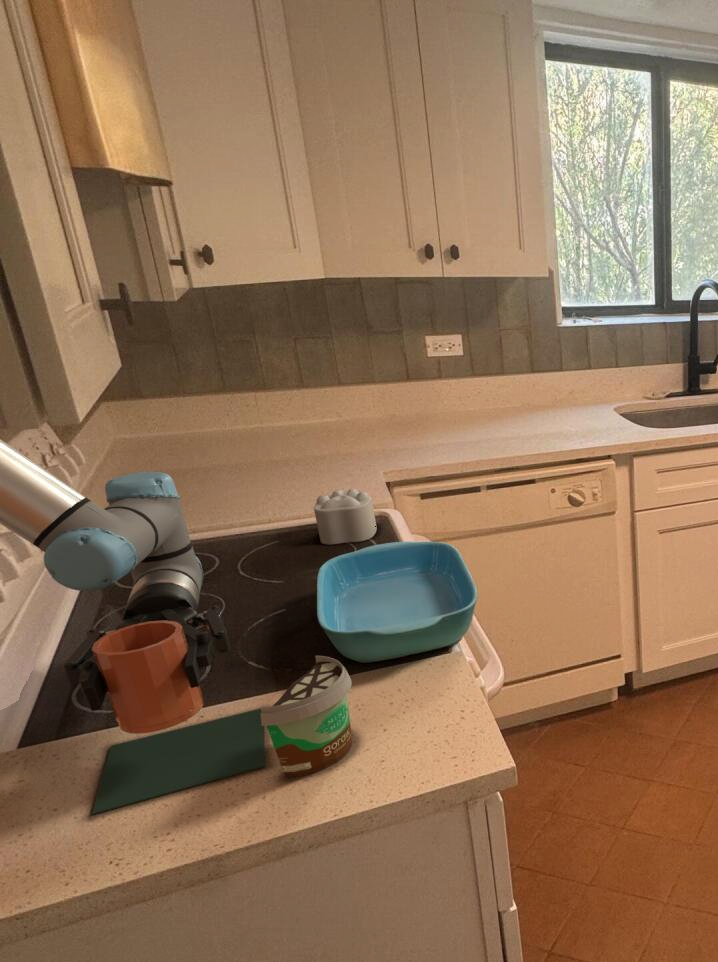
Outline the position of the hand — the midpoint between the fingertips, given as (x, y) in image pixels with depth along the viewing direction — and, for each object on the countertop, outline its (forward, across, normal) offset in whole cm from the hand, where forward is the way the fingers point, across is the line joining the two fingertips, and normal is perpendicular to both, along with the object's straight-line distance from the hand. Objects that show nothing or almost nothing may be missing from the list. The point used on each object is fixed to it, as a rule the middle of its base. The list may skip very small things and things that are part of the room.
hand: (143, 687), depth 84 cm
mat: (-5, -1, -12) cm, 13 cm away
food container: (+3, -16, -13) cm, 21 cm away
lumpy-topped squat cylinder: (-79, -25, -13) cm, 84 cm away
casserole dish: (-30, -29, -13) cm, 44 cm away
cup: (-5, 0, -6) cm, 8 cm away
